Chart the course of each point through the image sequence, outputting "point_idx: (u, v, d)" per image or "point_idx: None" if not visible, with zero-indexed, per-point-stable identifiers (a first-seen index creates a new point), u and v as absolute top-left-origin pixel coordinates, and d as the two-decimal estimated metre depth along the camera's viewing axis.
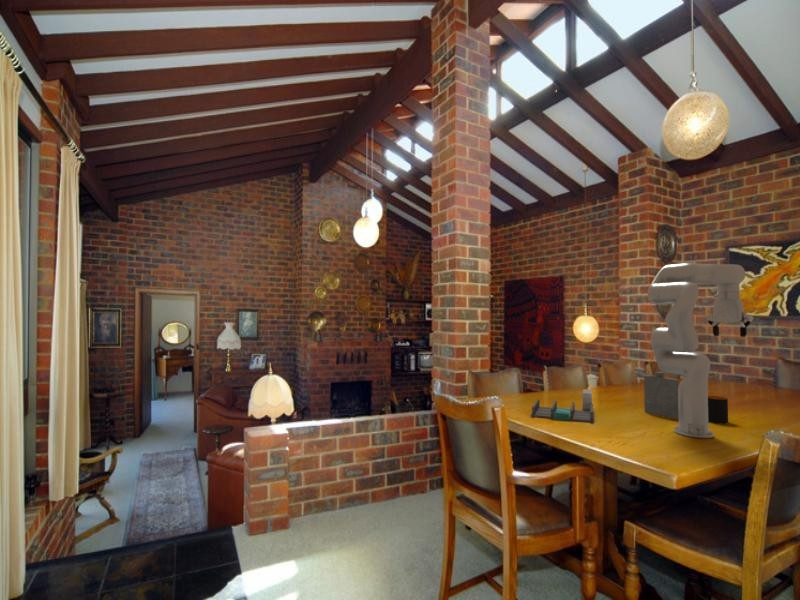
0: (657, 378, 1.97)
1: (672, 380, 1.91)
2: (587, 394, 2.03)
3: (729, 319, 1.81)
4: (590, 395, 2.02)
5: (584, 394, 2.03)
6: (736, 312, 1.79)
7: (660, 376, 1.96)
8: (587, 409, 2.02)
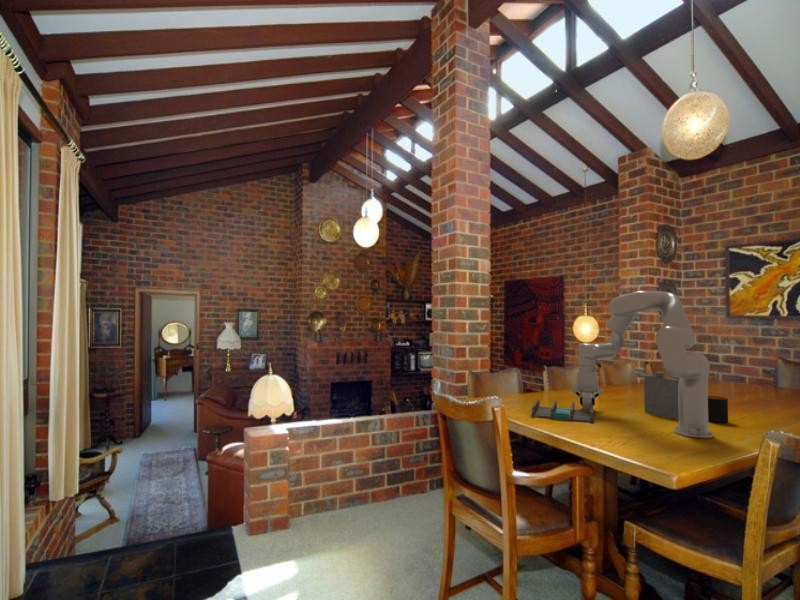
0: (657, 378, 1.97)
1: (672, 380, 1.91)
2: (587, 394, 2.03)
3: None
4: (590, 395, 2.02)
5: (584, 394, 2.03)
6: None
7: (660, 376, 1.96)
8: (587, 409, 2.02)
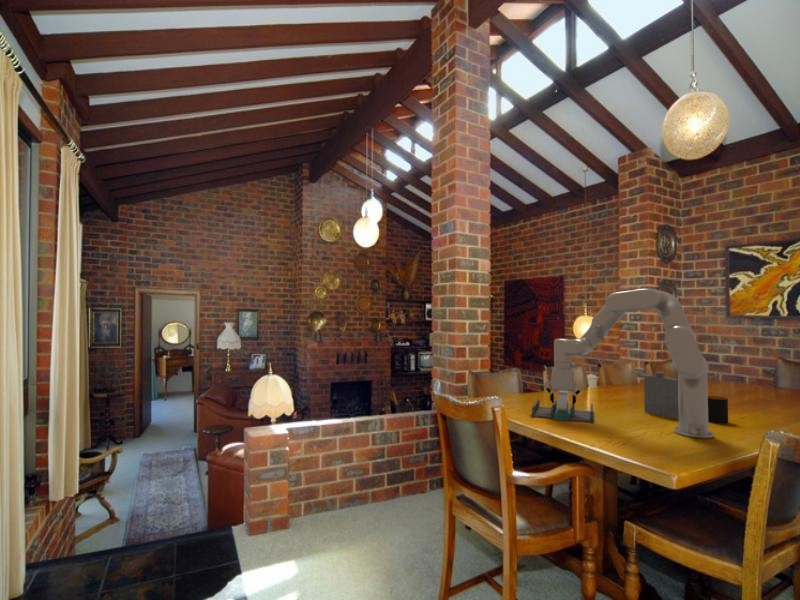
0: (657, 378, 1.97)
1: (672, 380, 1.91)
2: (562, 395, 1.91)
3: None
4: (565, 397, 1.90)
5: (559, 395, 1.91)
6: None
7: (660, 376, 1.96)
8: (562, 411, 1.90)
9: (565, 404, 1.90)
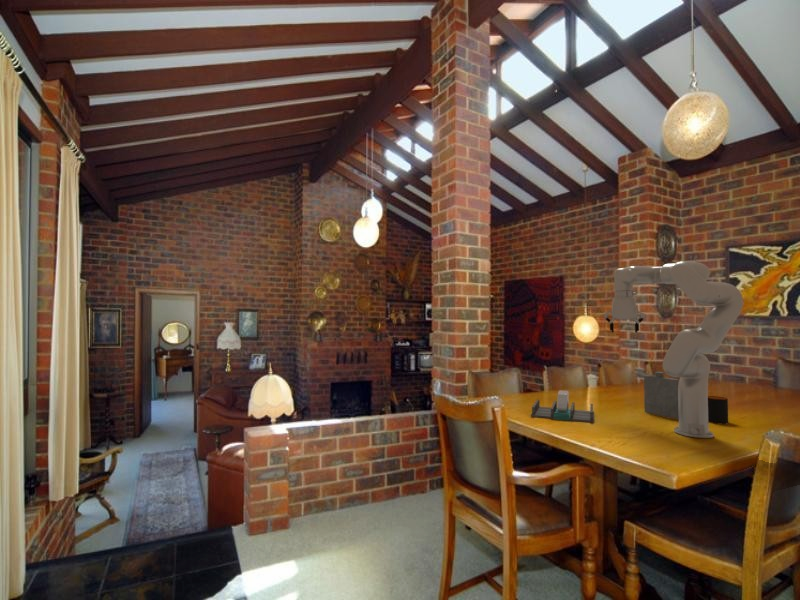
0: (657, 378, 1.97)
1: (672, 380, 1.91)
2: (562, 395, 1.91)
3: None
4: (565, 397, 1.90)
5: (559, 395, 1.91)
6: None
7: (660, 376, 1.96)
8: (562, 411, 1.90)
9: (565, 404, 1.90)
